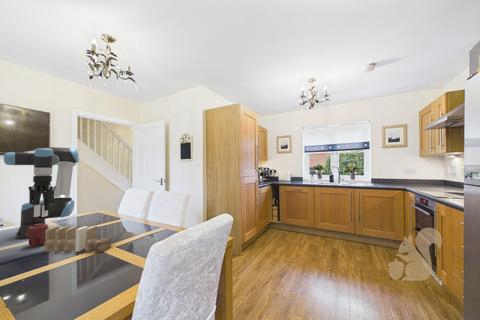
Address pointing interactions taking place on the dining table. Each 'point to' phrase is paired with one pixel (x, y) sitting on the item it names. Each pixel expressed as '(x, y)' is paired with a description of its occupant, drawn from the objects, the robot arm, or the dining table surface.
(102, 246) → the stop block
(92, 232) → the domino
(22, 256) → the dining table surface
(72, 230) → the domino
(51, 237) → the domino
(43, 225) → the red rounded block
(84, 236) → the domino
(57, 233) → the domino
